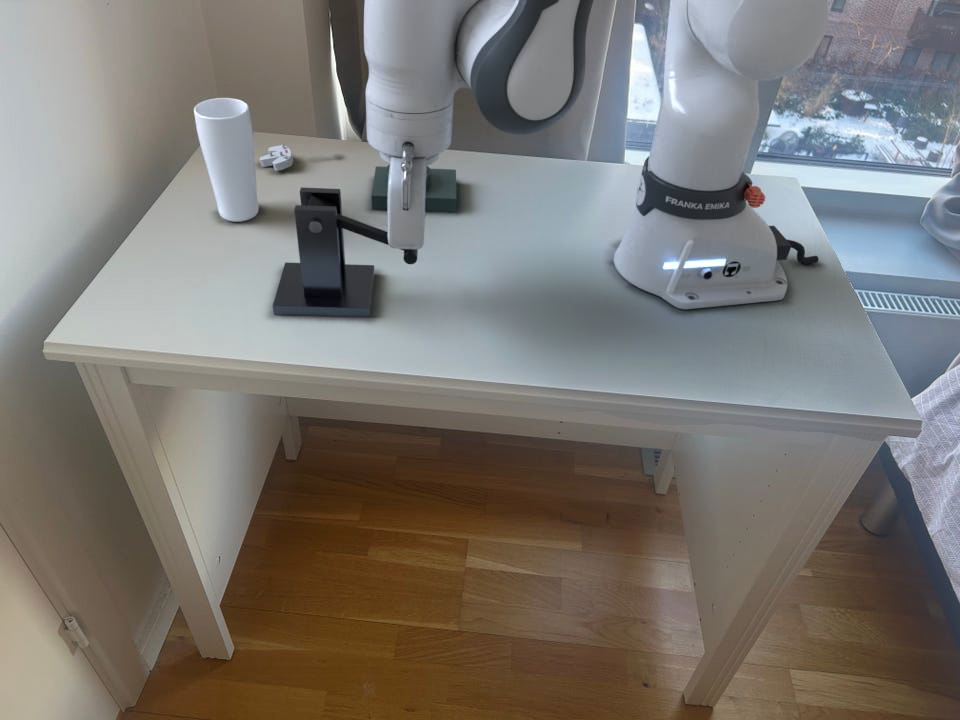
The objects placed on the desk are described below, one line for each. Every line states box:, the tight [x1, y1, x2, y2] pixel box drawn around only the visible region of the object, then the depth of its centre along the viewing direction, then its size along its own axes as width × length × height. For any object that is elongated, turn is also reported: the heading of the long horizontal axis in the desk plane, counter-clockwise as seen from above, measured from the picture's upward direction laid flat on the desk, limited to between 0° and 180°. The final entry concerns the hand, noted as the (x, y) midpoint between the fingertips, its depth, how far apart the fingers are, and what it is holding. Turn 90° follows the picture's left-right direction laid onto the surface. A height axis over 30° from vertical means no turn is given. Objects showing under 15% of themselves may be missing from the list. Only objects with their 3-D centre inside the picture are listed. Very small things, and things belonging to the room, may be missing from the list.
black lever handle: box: [308, 196, 419, 265], centre depth 84 cm, size 13×5×2 cm, turn 92°
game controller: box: [259, 143, 338, 172], centre depth 115 cm, size 6×12×3 cm, turn 129°
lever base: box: [272, 186, 375, 318], centre depth 86 cm, size 11×9×13 cm
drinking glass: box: [193, 97, 260, 223], centre depth 98 cm, size 7×7×15 cm
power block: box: [370, 164, 458, 213], centre depth 108 cm, size 12×9×4 cm
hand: (408, 239), depth 85 cm, fingers closed, pressing on black lever handle
